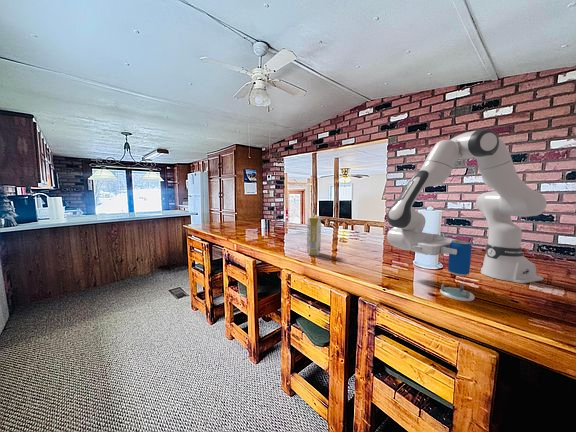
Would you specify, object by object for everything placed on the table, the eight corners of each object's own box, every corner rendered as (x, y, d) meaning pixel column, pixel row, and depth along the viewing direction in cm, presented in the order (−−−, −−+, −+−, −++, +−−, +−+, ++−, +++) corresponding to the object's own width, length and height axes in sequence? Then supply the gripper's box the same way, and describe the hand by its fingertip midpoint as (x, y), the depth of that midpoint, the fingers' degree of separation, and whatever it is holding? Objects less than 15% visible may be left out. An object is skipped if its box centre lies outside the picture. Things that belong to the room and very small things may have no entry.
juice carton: (320, 256, 140) (320, 216, 138) (306, 255, 141) (307, 215, 139) (320, 252, 149) (321, 214, 147) (307, 251, 150) (308, 214, 148)
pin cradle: (458, 288, 94) (458, 280, 94) (482, 300, 84) (482, 291, 83) (433, 289, 93) (434, 281, 92) (455, 301, 82) (455, 293, 82)
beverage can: (460, 270, 91) (463, 240, 90) (473, 276, 84) (476, 243, 83) (443, 270, 91) (446, 239, 90) (455, 276, 84) (458, 243, 83)
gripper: (410, 238, 92) (449, 245, 80) (438, 233, 102) (476, 239, 91) (409, 254, 93) (447, 263, 81) (437, 248, 103) (474, 255, 91)
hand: (462, 250), depth 86 cm, fingers closed on beverage can, 6 cm apart
